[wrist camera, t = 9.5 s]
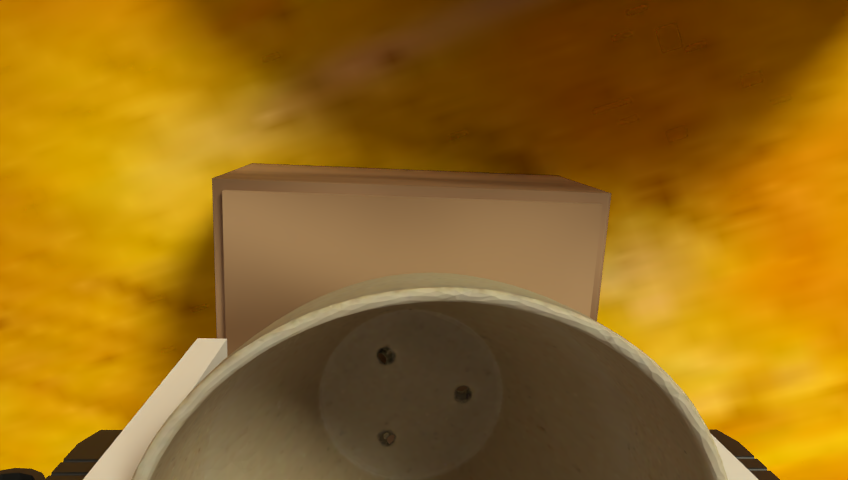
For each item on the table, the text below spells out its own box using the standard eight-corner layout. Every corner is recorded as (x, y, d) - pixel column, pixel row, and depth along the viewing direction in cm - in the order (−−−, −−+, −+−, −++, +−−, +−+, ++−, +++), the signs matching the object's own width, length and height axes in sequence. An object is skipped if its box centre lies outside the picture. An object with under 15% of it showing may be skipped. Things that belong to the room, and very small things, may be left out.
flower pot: (608, 499, 17) (762, 757, 10) (281, 574, 17) (212, 893, 10) (559, 173, 15) (713, 223, 8) (183, 254, 15) (7, 377, 8)
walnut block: (252, 163, 20) (210, 178, 15) (557, 175, 21) (614, 194, 16) (256, 446, 23) (221, 541, 17) (532, 445, 23) (574, 536, 18)
